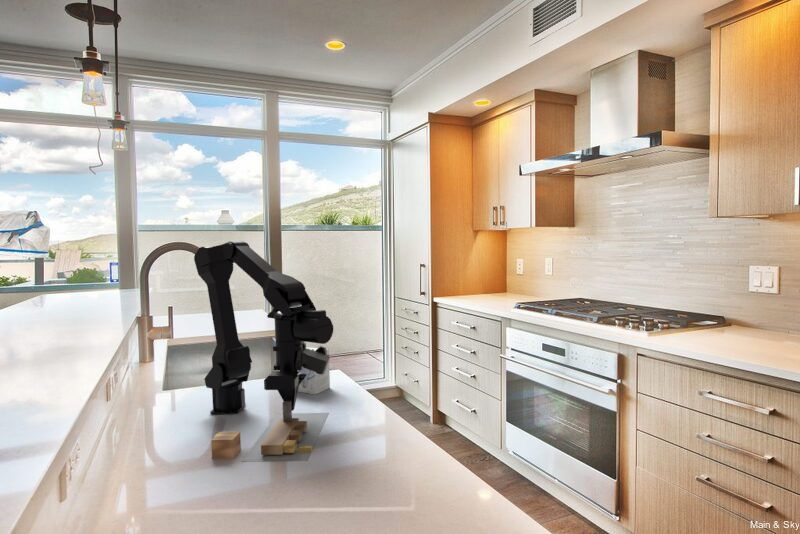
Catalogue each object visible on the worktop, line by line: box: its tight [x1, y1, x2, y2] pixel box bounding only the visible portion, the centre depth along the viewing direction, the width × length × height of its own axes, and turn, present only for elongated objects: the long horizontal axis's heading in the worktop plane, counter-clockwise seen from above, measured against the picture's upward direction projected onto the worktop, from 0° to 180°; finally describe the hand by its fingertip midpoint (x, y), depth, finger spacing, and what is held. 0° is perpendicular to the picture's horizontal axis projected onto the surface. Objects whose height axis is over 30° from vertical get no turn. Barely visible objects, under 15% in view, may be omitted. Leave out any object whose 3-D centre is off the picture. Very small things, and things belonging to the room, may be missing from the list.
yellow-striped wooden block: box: [210, 430, 242, 460], centre depth 95 cm, size 4×4×4 cm
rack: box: [261, 401, 307, 455], centre depth 100 cm, size 6×14×6 cm, turn 179°
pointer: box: [298, 446, 313, 453], centre depth 96 cm, size 2×1×1 cm, turn 89°
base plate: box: [241, 412, 330, 463], centre depth 104 cm, size 12×25×1 cm, turn 179°
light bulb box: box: [298, 346, 331, 395], centre depth 137 cm, size 11×7×11 cm, turn 62°
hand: (291, 410), depth 110 cm, fingers closed
